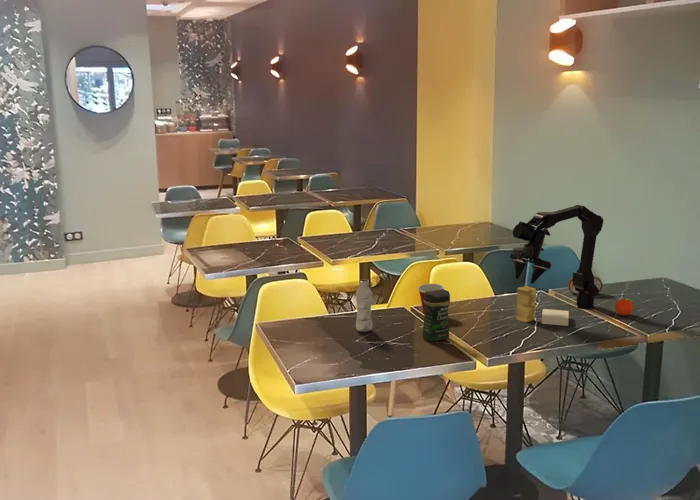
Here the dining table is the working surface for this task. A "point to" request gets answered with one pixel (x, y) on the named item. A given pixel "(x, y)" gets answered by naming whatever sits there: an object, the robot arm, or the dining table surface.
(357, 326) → the plastic bottle
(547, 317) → the plinth
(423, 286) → the plastic cup
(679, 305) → the dining table surface
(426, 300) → the coffee jar
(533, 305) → the pillar block
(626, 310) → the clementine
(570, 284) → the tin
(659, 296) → the dining table surface
